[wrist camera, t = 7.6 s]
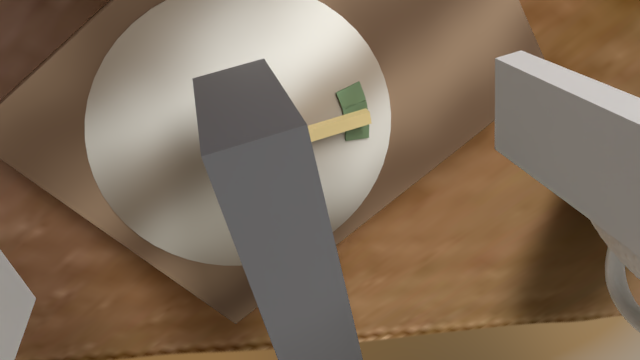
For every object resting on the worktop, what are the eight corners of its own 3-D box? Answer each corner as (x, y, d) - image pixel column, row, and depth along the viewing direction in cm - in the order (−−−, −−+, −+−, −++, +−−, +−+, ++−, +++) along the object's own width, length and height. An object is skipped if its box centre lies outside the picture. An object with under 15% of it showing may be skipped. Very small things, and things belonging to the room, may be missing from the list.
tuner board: (-2, 103, 22) (-37, 138, 19) (364, -233, 20) (406, -268, 16) (229, 279, 31) (236, 328, 27) (506, 57, 28) (556, 77, 25)
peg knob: (254, 236, 24) (302, 422, 15) (188, 46, 19) (201, 156, 10) (377, 196, 25) (491, 350, 16) (345, 3, 20) (486, 70, 11)
